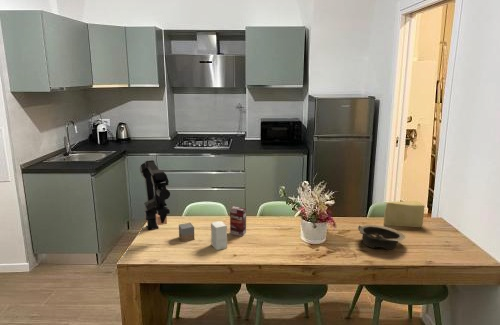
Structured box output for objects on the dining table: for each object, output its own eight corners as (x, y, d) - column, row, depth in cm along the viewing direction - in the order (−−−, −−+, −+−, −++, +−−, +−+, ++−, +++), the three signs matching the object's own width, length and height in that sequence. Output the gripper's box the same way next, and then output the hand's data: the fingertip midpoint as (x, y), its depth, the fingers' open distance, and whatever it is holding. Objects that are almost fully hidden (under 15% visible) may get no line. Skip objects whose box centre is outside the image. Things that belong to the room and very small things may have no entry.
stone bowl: (355, 249, 203) (356, 233, 202) (359, 234, 227) (360, 219, 225) (405, 256, 195) (406, 239, 194) (404, 240, 218) (405, 224, 217)
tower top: (178, 231, 220) (178, 224, 219) (190, 228, 223) (190, 222, 222) (182, 235, 213) (182, 229, 213) (194, 233, 216) (194, 226, 215)
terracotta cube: (156, 222, 214) (155, 213, 213) (165, 220, 216) (164, 212, 215) (157, 225, 209) (157, 216, 208) (166, 223, 211) (166, 215, 210)
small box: (227, 248, 206) (227, 225, 203) (216, 250, 204) (215, 227, 201) (221, 242, 214) (221, 220, 211) (211, 244, 211) (210, 222, 208)
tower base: (179, 237, 221) (178, 231, 220) (190, 235, 224) (190, 228, 223) (182, 242, 214) (182, 235, 214) (194, 239, 217) (194, 233, 216)
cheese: (386, 227, 233) (388, 204, 229) (381, 221, 242) (383, 199, 239) (423, 228, 232) (425, 204, 228) (416, 222, 241) (419, 199, 238)
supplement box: (229, 234, 224) (229, 208, 221) (233, 231, 229) (232, 206, 225) (243, 236, 221) (243, 210, 217) (246, 233, 225) (246, 207, 222)
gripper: (142, 191, 214) (144, 217, 217) (147, 201, 197) (149, 229, 201) (162, 189, 218) (163, 215, 222) (169, 198, 202) (170, 226, 205)
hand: (161, 221), depth 212 cm, fingers closed on terracotta cube, 5 cm apart
